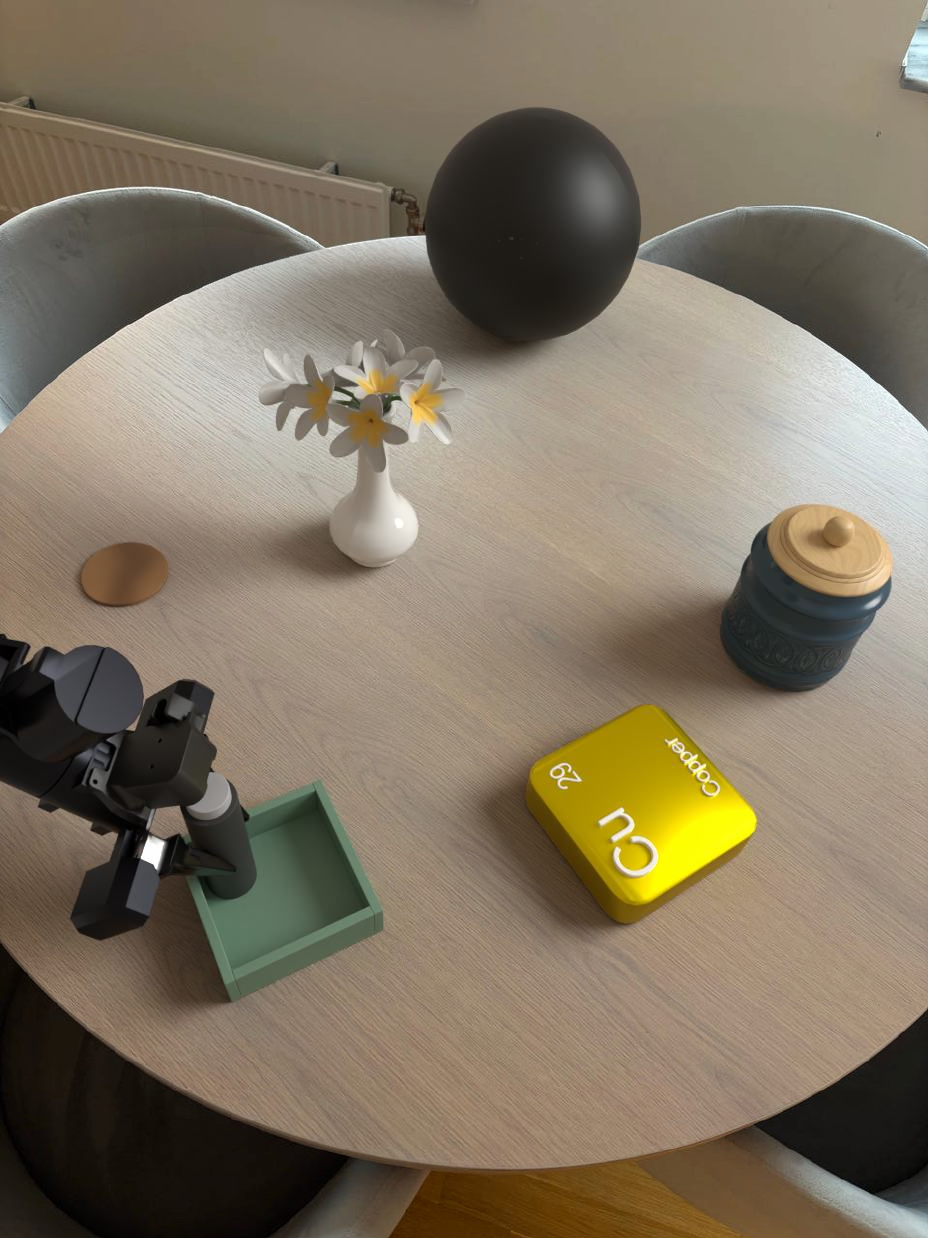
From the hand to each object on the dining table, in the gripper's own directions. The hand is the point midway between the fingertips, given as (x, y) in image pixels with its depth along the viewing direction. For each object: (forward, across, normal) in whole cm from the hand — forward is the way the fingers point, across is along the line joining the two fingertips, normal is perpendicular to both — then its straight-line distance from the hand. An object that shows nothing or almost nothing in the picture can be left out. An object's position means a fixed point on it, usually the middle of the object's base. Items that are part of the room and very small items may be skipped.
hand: (239, 845), depth 73 cm
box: (+7, -1, +3) cm, 7 cm away
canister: (+38, +31, -29) cm, 57 cm away
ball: (+18, +82, -9) cm, 85 cm away
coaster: (-9, +31, +18) cm, 37 cm away
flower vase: (+8, +38, +2) cm, 39 cm away
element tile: (+27, +9, -18) cm, 34 cm away
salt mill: (+3, 0, +5) cm, 6 cm away
